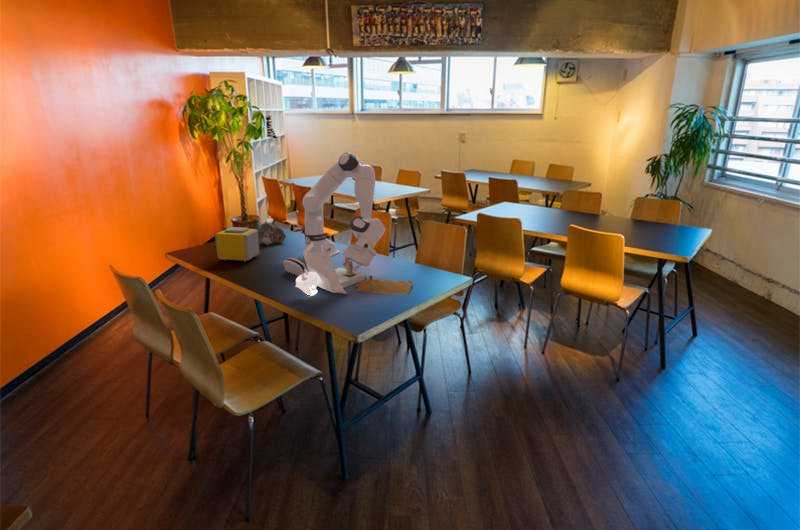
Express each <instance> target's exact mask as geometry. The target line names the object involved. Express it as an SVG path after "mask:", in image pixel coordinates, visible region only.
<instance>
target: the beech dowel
mask: <svg viewBox="0 0 800 530" xmlns="http://www.w3.org/2000/svg"><path fill="white" fill-rule="evenodd" d="M352 268H353V261H351V260H349V261H348V262H347V263H346V267H345V269H346V271H347V274H346V275H347V277H353V270H352Z"/></svg>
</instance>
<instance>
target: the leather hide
mask: <svg viewBox="0 0 800 530" xmlns="http://www.w3.org/2000/svg"><path fill="white" fill-rule="evenodd" d="M372 276H373V275H371V274H370V275H369V276H368V277H369V278H368V279H365V280H363V281H360V282H358V283H355V284H353V287H354V286H355V287H357V288H356V290H357V292H360V291H363V292H362V293H374V292H376V293H375V294H384V295H396V294H395V293H409V294H410V292H411V289H412V285H413V282H414V281H411V280H409V281H408V280H407V281H405V280H402V281H401V280H400V281H393V280H383V279H379V278H373V277H372ZM366 291H367V292H366ZM385 293H386V294H385ZM388 293H389V294H388Z"/></svg>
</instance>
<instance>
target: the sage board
mask: <svg viewBox="0 0 800 530" xmlns="http://www.w3.org/2000/svg"><path fill="white" fill-rule="evenodd" d="M334 269H335V271H336V273H337V276H338V279H339V281H340V284H341V286H342V288H343V289H344V288H347V287H349V286H352V285H355V284H357V282H358V283H359V282H361V281H366V275H365V273H361V272H358V271H353V277H347V275H346V274H347V271H346V268H344V267H338V268H334Z"/></svg>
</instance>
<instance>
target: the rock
mask: <svg viewBox="0 0 800 530" xmlns="http://www.w3.org/2000/svg"><path fill="white" fill-rule="evenodd" d="M256 230H257V231H258V240H260V241H262V243H264V244H265V245H266V246H270V245H273V244H276V243H278V244H282V243H283V242H284V241H285V240H286V239H287V236H286V234H285V232H284V230H283V229H282V228H280V227H279V226H278V225H276V224H273V223H272V222H268V221H265V222H263V223H261V224H260V225H259V227H258V229H256Z"/></svg>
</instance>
